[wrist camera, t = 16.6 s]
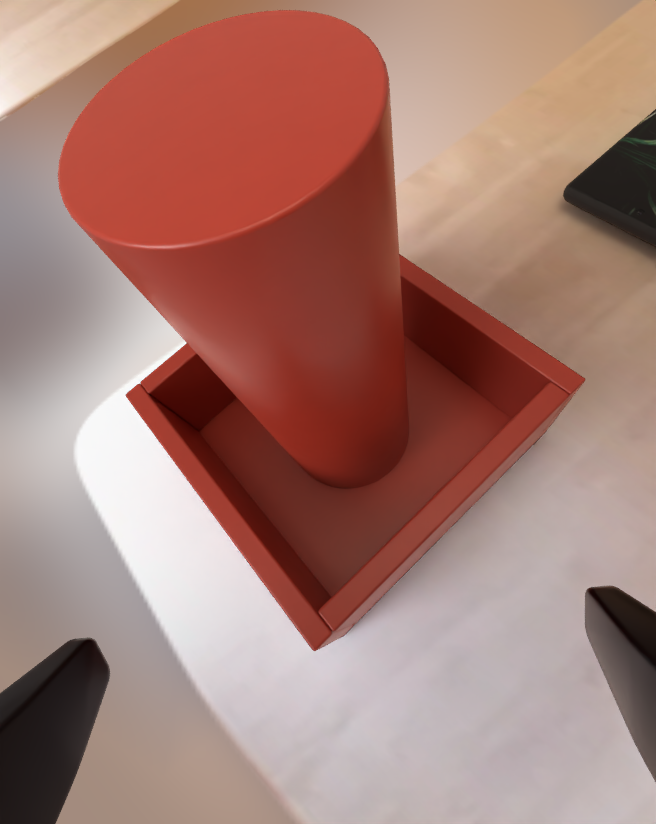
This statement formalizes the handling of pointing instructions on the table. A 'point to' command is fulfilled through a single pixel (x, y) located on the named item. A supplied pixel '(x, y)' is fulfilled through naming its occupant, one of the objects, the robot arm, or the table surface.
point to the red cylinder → (262, 223)
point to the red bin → (383, 499)
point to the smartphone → (622, 183)
